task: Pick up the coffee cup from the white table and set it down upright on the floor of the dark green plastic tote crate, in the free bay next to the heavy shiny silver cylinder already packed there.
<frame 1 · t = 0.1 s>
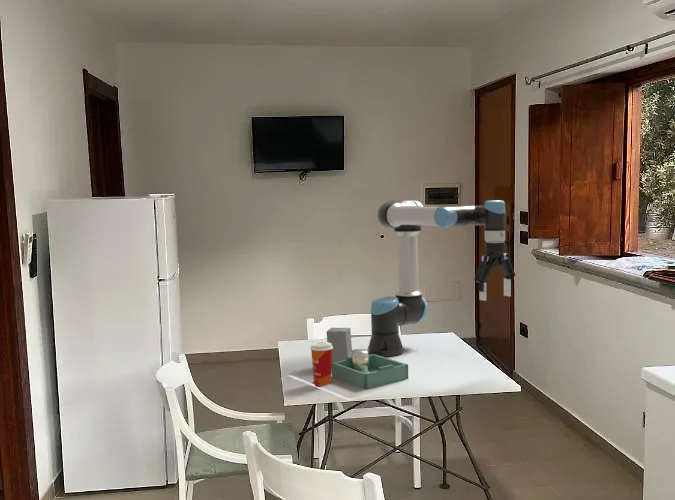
hand: (495, 298, 246), 28 cm above the table, fingers open, 13 cm apart
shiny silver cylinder: (360, 374, 246), point 1 cm above the table, touching tote
coffee cup: (322, 385, 236), on the table
tote: (369, 379, 241), on the table
skincare box: (340, 368, 258), on the table
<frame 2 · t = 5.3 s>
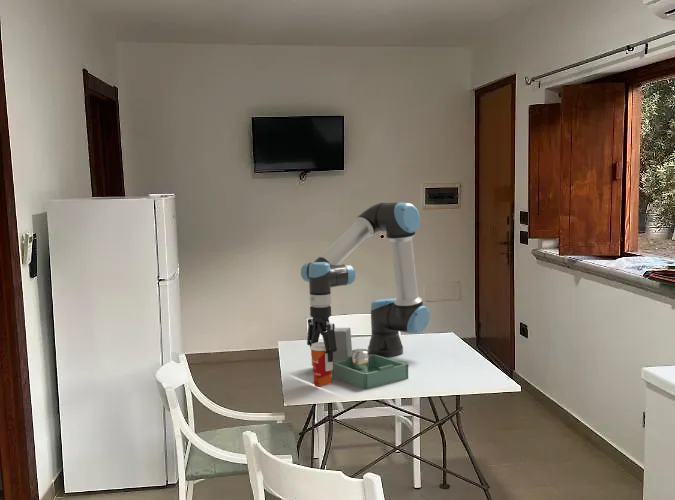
hand: (322, 367, 236), 6 cm above the table, fingers closed on coffee cup, 8 cm apart
coffee cup: (322, 385, 236), on the table, touching gripper
everything else where it was.
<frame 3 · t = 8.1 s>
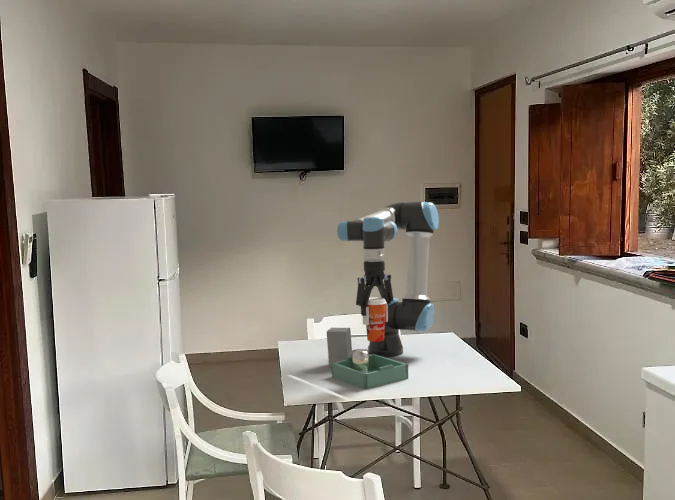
hand: (375, 322, 236), 22 cm above the table, fingers closed on coffee cup, 8 cm apart
coffee cup: (375, 340, 237), point 15 cm above the table, touching gripper
everything else where it was.
when the fingers open (8 cm above the table, at t = 10.9 s): coffee cup drops 1 cm, resting on tote.
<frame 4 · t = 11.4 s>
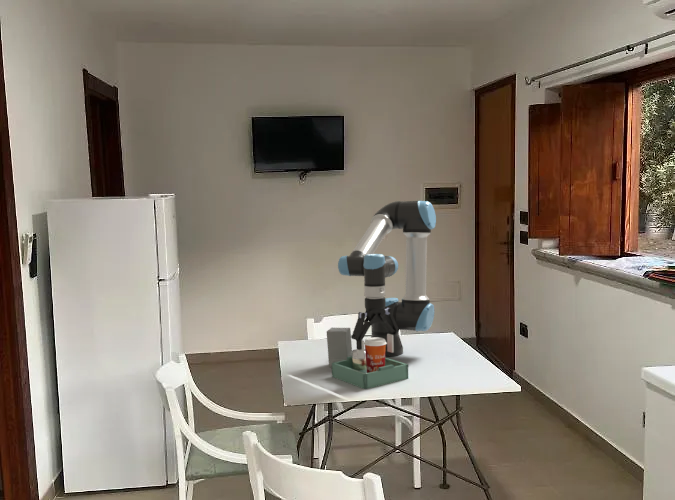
hand: (376, 355, 237), 10 cm above the table, fingers open, 13 cm apart
coffee cup: (376, 380, 238), point 1 cm above the table, touching tote
everything else where it was.
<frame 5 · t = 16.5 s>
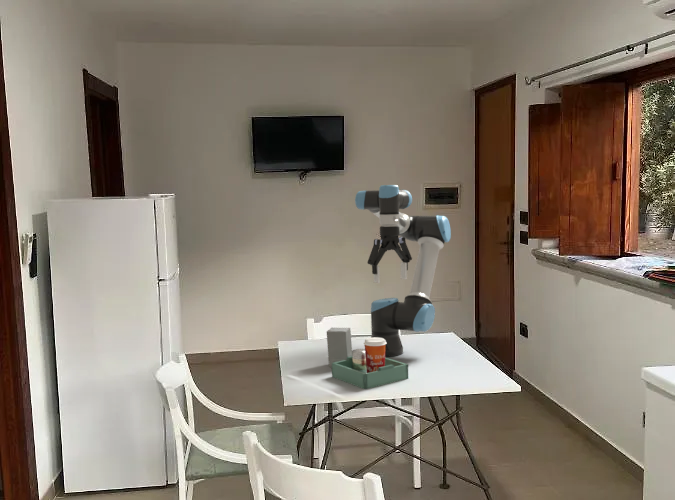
hand: (390, 281, 251), 35 cm above the table, fingers open, 13 cm apart
nothing on the table moved.
at the end: coffee cup inside the target area on the tote (0.5 cm from its centre), point 0.6 cm above the tote's base; coffee cup tilted 0°; the gripper is holding nothing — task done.
